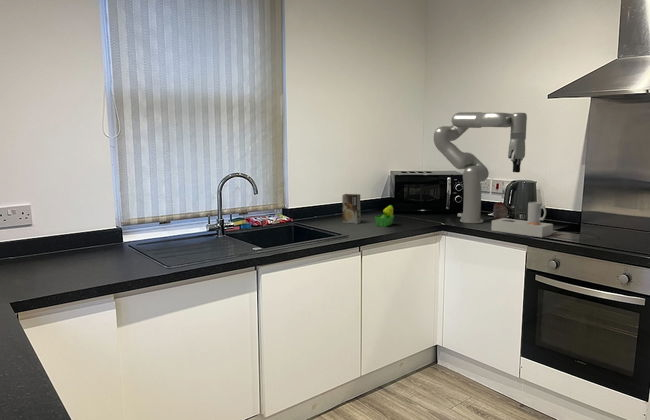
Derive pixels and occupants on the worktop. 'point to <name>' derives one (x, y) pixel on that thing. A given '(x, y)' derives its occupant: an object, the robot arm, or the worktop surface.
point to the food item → (500, 211)
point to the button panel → (522, 227)
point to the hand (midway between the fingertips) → (516, 172)
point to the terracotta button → (534, 223)
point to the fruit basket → (385, 217)
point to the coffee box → (351, 208)
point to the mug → (535, 211)
